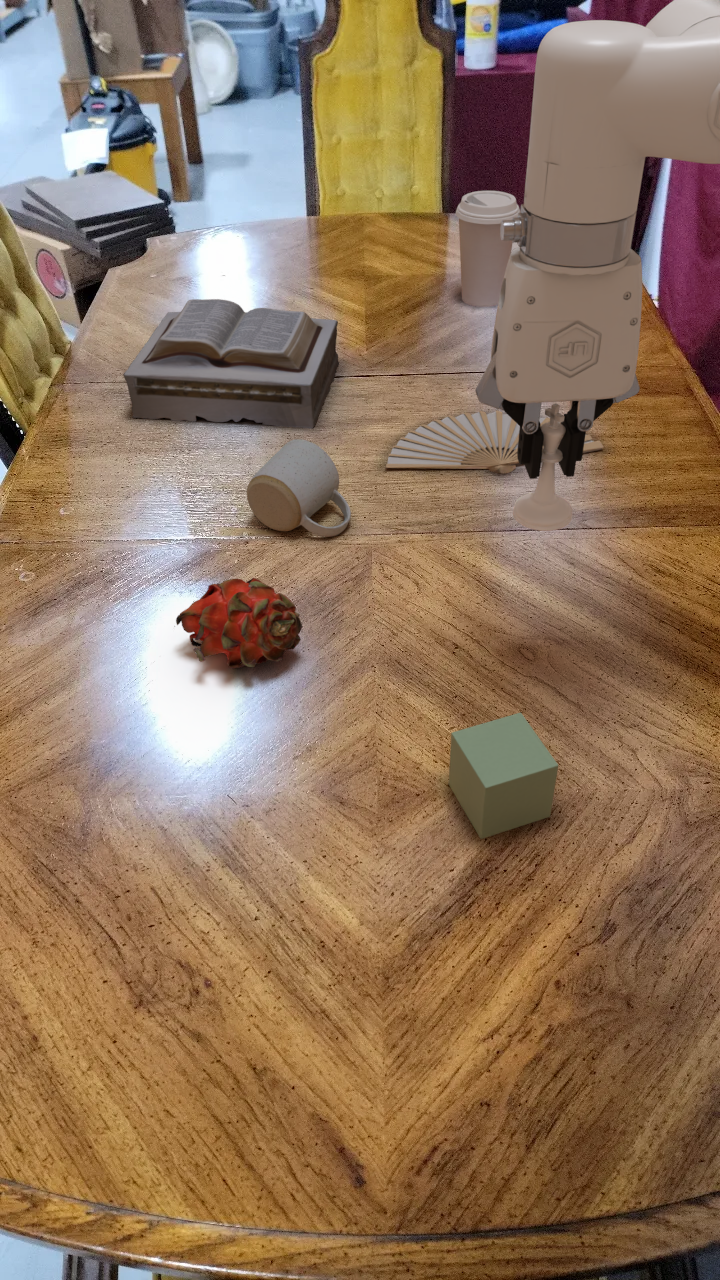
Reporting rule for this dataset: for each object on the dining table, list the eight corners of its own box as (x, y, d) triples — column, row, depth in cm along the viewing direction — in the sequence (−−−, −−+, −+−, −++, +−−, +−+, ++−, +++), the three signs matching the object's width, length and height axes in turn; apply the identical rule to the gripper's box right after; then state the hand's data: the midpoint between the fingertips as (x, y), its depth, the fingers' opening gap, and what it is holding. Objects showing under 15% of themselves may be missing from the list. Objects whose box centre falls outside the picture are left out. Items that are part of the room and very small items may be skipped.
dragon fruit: (313, 681, 92) (194, 678, 95) (321, 592, 94) (204, 592, 97) (282, 660, 84) (154, 657, 87) (292, 564, 86) (166, 565, 89)
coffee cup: (451, 287, 159) (455, 189, 149) (510, 287, 158) (518, 188, 149) (452, 311, 152) (457, 209, 142) (515, 311, 151) (524, 209, 141)
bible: (189, 342, 145) (180, 275, 139) (363, 366, 138) (362, 296, 131) (107, 415, 128) (93, 342, 122) (300, 447, 121) (295, 371, 115)
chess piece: (540, 538, 80) (554, 427, 74) (500, 511, 83) (510, 402, 77) (584, 518, 82) (601, 408, 76) (543, 492, 85) (556, 384, 79)
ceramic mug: (244, 525, 108) (238, 464, 103) (284, 489, 114) (280, 430, 109) (327, 553, 104) (325, 491, 99) (365, 514, 110) (365, 454, 105)
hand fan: (613, 466, 116) (574, 406, 127) (614, 460, 116) (575, 400, 127) (391, 487, 114) (371, 424, 125) (391, 481, 113) (371, 418, 124)
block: (514, 763, 81) (521, 711, 77) (550, 817, 77) (559, 765, 73) (448, 784, 80) (451, 732, 76) (480, 840, 75) (485, 787, 72)
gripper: (469, 259, 65) (456, 499, 77) (709, 248, 65) (659, 488, 77) (452, 221, 70) (442, 451, 82) (673, 212, 71) (632, 440, 83)
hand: (548, 467), depth 80 cm, fingers closed on chess piece
